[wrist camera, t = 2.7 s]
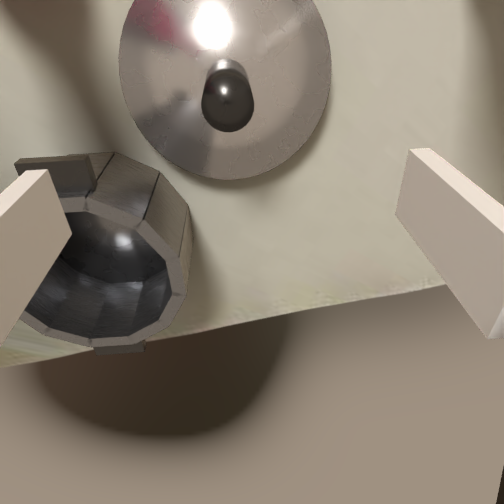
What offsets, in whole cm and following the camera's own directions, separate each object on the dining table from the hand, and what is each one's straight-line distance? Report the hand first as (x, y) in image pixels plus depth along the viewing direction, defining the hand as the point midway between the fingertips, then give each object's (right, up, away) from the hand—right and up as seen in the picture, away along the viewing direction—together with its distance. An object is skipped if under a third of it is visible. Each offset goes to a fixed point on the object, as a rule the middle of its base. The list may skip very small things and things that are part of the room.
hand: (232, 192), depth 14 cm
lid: (-1, +13, +17) cm, 22 cm away
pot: (-14, 0, +25) cm, 29 cm away
